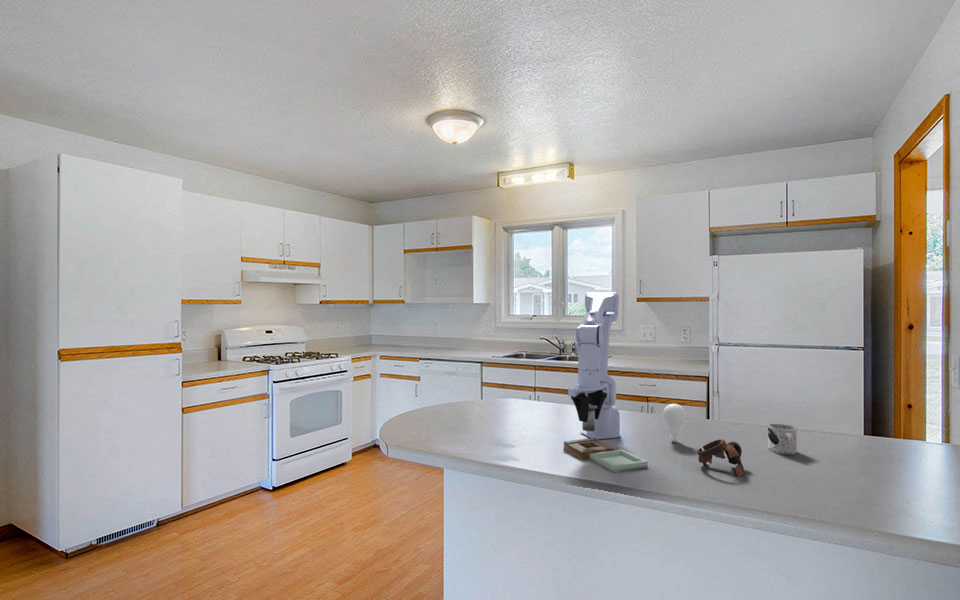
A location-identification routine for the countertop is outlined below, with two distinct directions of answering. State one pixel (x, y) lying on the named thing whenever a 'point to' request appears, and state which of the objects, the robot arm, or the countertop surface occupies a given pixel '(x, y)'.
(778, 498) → the countertop surface
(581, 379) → the robot arm
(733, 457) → the brown curved strap
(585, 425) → the pin
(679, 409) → the lightbulb
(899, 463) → the countertop surface
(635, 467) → the tray
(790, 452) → the mug
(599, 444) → the block
